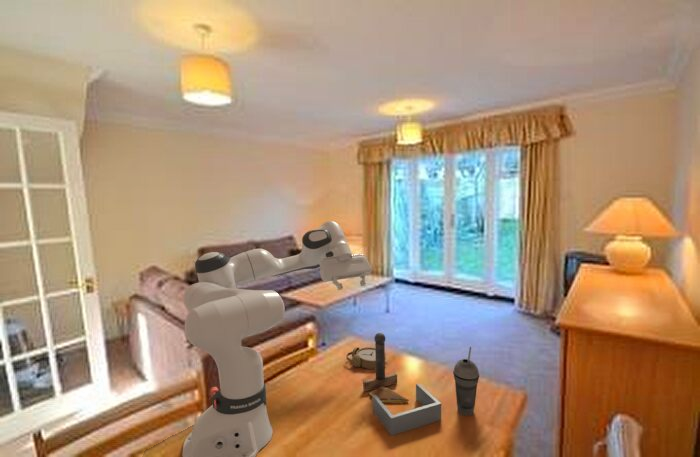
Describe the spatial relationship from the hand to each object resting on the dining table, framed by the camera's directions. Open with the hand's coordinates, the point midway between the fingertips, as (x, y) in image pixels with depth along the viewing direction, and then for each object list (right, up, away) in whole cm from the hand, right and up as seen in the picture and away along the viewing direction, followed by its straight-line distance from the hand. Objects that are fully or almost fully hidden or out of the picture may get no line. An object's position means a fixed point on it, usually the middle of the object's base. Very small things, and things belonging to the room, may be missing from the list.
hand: (352, 287), depth 134 cm
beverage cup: (+33, -32, -28) cm, 54 cm away
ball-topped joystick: (+9, -31, -15) cm, 35 cm away
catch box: (+15, -32, -30) cm, 46 cm away
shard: (+11, -32, -20) cm, 39 cm away
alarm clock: (+5, -29, +3) cm, 30 cm away
